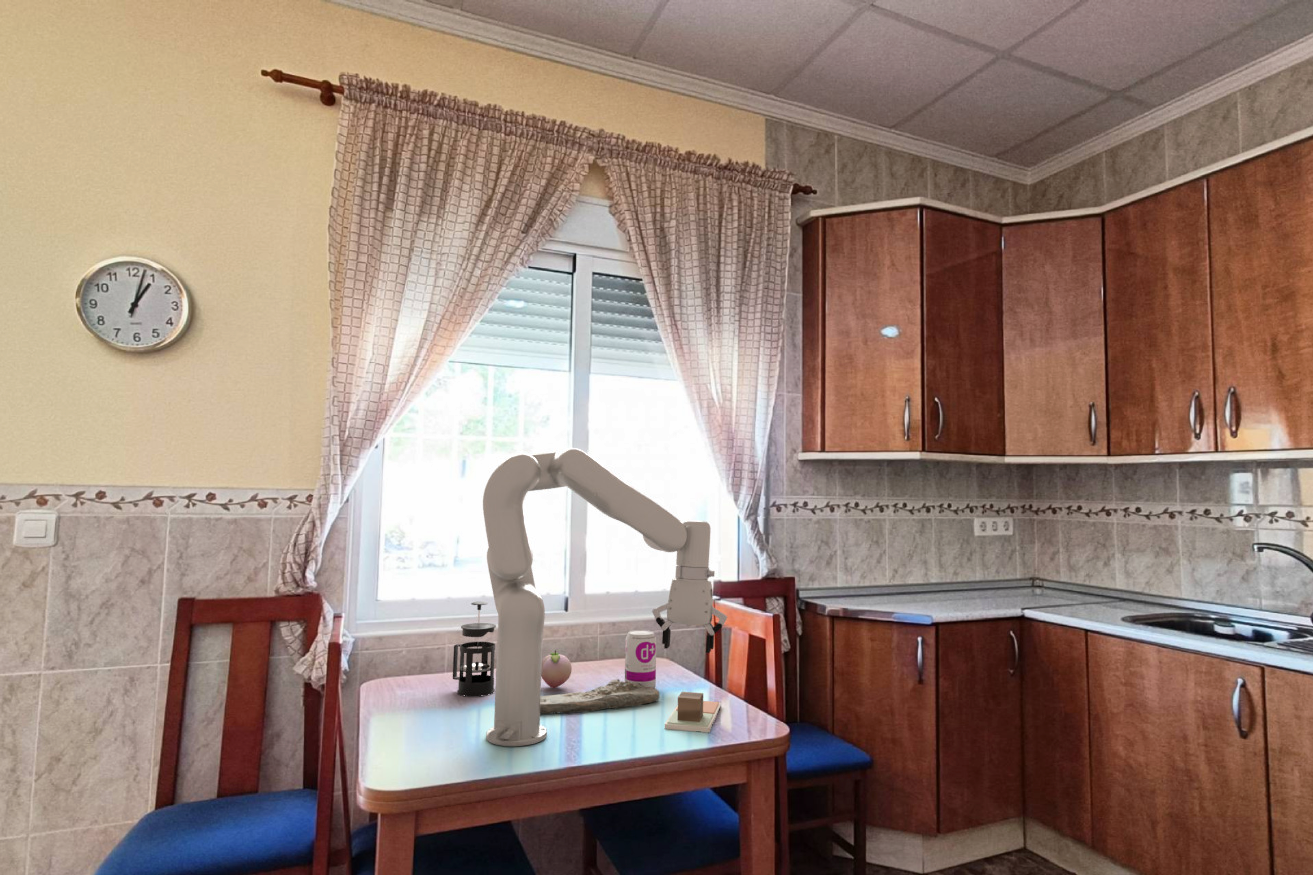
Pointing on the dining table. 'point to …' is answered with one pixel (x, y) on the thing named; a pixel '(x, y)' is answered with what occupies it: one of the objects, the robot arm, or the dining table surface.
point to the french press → (476, 683)
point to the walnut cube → (690, 706)
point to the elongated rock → (599, 698)
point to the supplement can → (640, 658)
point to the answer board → (704, 725)
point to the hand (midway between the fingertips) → (687, 649)
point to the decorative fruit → (555, 669)
